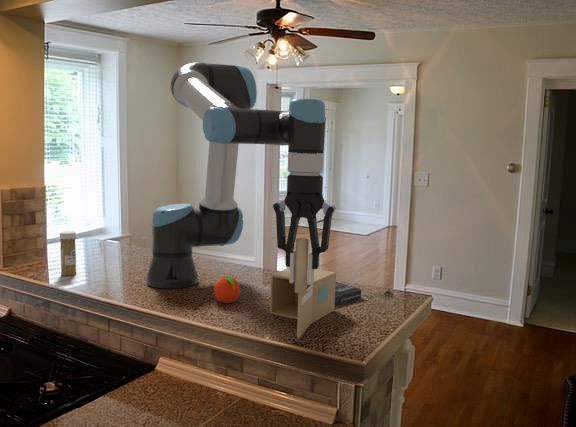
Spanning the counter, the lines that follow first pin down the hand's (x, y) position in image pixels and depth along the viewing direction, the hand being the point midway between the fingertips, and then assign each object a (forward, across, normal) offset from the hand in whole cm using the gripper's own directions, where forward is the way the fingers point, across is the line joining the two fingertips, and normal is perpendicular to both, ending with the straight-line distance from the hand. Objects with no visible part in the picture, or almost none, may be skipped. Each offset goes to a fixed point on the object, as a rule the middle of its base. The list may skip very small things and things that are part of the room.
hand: (301, 282), depth 116 cm
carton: (+13, +4, -18) cm, 23 cm away
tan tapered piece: (+12, 0, -4) cm, 13 cm away
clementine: (+13, +25, -19) cm, 33 cm away
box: (+13, +4, -35) cm, 38 cm away
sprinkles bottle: (+13, +82, -29) cm, 88 cm away
